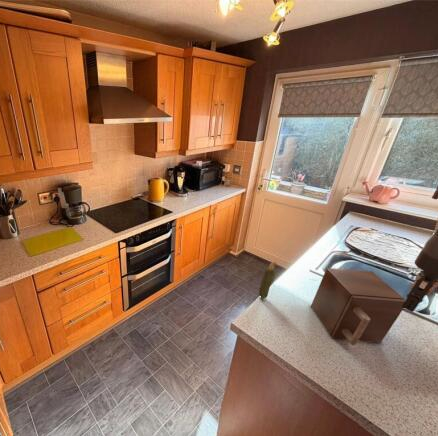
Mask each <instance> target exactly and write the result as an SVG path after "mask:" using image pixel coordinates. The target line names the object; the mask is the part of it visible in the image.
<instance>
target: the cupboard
mask: <svg viewBox="0 0 438 436" xmlns="http://www.w3.org/2000/svg"><path fill="white" fill-rule="evenodd" d="M351 295H354V296H366V297H378V298H390V299H403V300H405V297H404V296H403V295H402V294H400V293H398V291H396V290H395V289H394V288H393V287H392V286H391V285H389V284H388V283H387V282H385V281H384V280H383V279H382V278H380V277H379V276H378V275H377V274H376V273H375V272H374V271H371V270H359V269H357V270H356V269H343V268H330V267H326V269H325V271H324V274H323V276H322V278H321V281H320V283H319V285H318V287H317V290H316V293H315V295H314V298H313V300H312V302H311V305H310V307H311V309H312V311H313V312H314V314H315V315H316V316H317V318H318V319H319V321H320V322H321V324H322V325H323V327H324V328H325V329H326V331H327V333H328V334H329V336H331V335H332V333H333V331H334V329H335V327H336V325H337V323H338V321H339V319H340V317H341V315H342V313H343V311H344V309H345V307H346V305H347V303H348V301H349V299H350V297H351Z"/></svg>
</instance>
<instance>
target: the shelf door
mask: <svg viewBox="0 0 438 436" xmlns="http://www.w3.org/2000/svg"><path fill="white" fill-rule="evenodd" d="M405 301H406V299H404V300H403V299H390V298H378V297H366V296H354V295H351V297H350V299H349V301H348V303H347V305H346V307H345V309H344V311H343V313H342V315H341V317H340V319H339V321H338V323H337V325H336V327H335V329H334V331H333V333H332V335H330V337H331V339H336V340H347V341H348V342H349V344H350V345H352V346H356V345H357V343H358V342H368V343H375V344H376V343H377V344H381V343H382V342H383V341H384V339H385V338H386V336H387V334H388V333H389V331H390V330H391V328H392V327H393V325H394V324H395V322H396V321H397V319H398V318H399V316H400V315H401V313H402V311H403V310H404V309H405V308H403V307H402V305H403V304H404V302H405Z"/></svg>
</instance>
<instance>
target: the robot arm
mask: <svg viewBox="0 0 438 436" xmlns="http://www.w3.org/2000/svg"><path fill="white" fill-rule="evenodd" d="M414 265H415V266H416V267H417V268H418V269H420V271H419V272H418V273H417V275H416V276H415V278H414V279H415V280H414V281H413V283H412V284H411V286H410V291H409V293H408V294H406V299H405V300H406V301H405V302H404V304H403V305H402V307H403V308H404V309H405V310H406V311H409V312H412V313H413V312H414V311H415V310H416V308H417V307H418V306H419V304H421V303H423V302H424V298H425V297H426V296H430V295H431V293H432V292H433V291H434V289H435V288H437V287H438V226H437V227H436V228H435V231H434V232H433V233H432V235H431V236H430V237H429V238H428V239H427V240H426V242H425V244H424V245H423V247H422V249H421V250H420V252H419V253H418V255H417V257H416V258H415V259H414Z"/></svg>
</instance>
